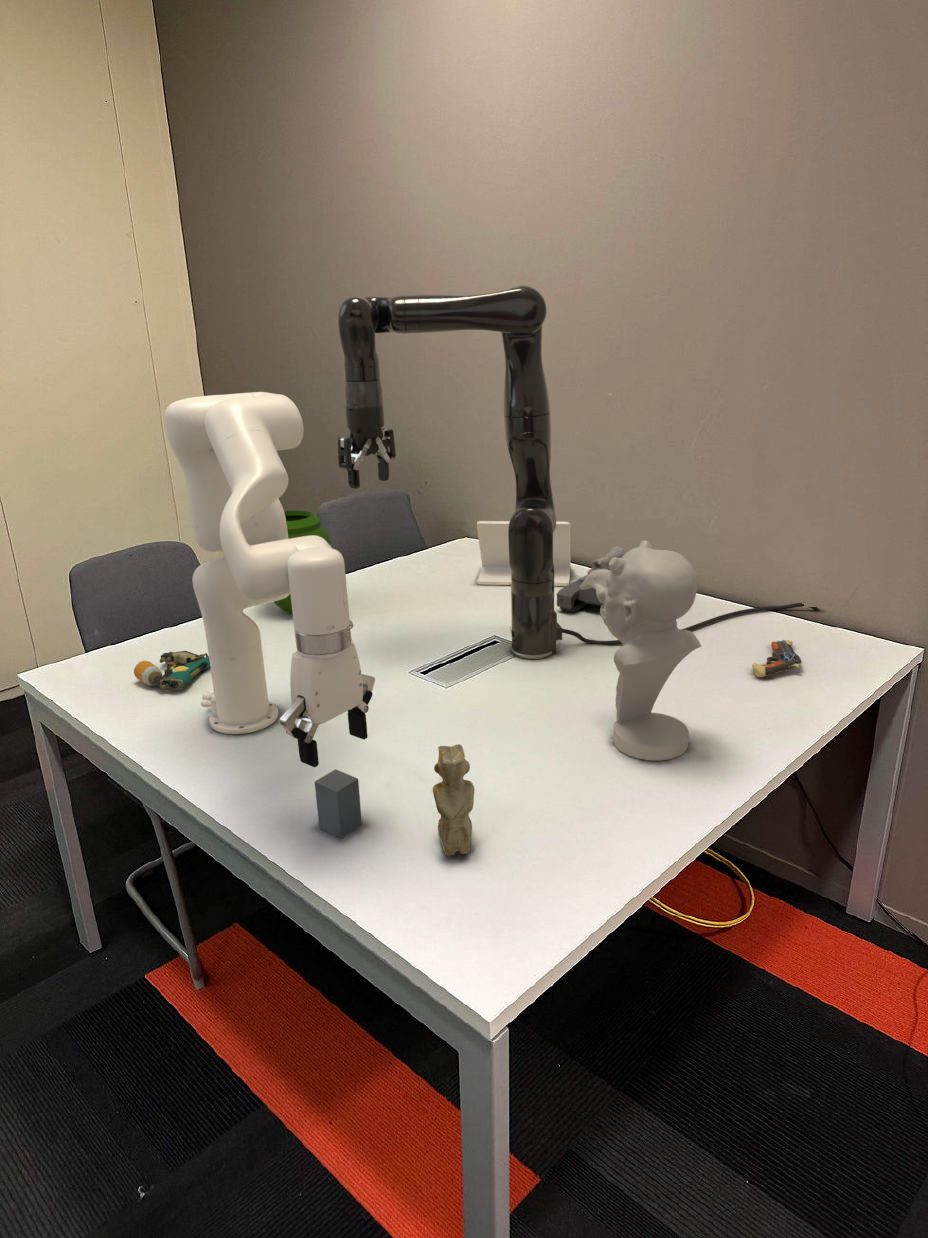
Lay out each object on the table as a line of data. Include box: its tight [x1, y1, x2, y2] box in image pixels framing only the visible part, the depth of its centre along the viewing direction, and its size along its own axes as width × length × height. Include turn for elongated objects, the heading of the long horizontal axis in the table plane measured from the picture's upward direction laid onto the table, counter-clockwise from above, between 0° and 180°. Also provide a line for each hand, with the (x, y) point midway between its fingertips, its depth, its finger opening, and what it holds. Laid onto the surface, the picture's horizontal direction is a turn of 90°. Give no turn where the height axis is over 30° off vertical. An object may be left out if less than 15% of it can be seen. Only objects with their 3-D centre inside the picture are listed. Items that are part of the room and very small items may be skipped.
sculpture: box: [432, 743, 475, 856], centre depth 119 cm, size 6×7×15 cm
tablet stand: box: [476, 520, 572, 587], centre depth 236 cm, size 18×25×17 cm
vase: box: [273, 510, 333, 615], centre depth 213 cm, size 20×20×24 cm
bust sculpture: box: [579, 540, 702, 761], centre depth 146 cm, size 16×24×35 cm
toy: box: [556, 546, 626, 613], centre depth 212 cm, size 25×20×15 cm
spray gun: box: [133, 650, 210, 690], centre depth 180 cm, size 4×17×15 cm
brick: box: [314, 768, 363, 840], centre depth 126 cm, size 4×5×8 cm
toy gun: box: [751, 639, 804, 678], centre depth 178 cm, size 3×19×10 cm
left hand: (334, 749), depth 122 cm, fingers open, 9 cm apart
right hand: (369, 484), depth 176 cm, fingers open, 8 cm apart
